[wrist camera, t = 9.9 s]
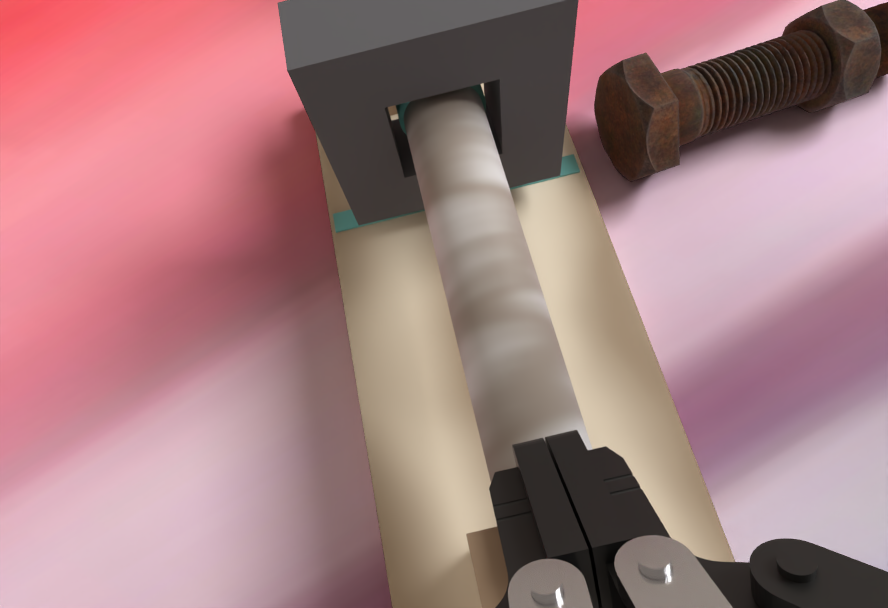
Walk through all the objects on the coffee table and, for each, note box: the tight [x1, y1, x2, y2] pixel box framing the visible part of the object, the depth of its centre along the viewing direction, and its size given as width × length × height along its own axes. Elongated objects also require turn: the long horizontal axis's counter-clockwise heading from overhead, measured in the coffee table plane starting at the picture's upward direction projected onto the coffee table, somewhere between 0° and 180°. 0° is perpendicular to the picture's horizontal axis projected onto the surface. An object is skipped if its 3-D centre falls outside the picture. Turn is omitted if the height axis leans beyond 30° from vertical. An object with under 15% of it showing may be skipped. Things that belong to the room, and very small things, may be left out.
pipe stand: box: [316, 83, 735, 608], centre depth 24 cm, size 12×28×9 cm, turn 12°
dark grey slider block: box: [278, 0, 578, 225], centre depth 23 cm, size 9×3×9 cm, turn 102°
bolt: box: [594, 0, 888, 181], centre depth 29 cm, size 6×5×15 cm
